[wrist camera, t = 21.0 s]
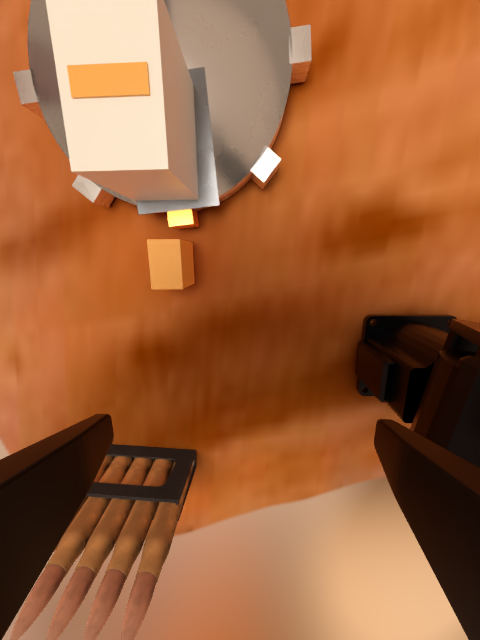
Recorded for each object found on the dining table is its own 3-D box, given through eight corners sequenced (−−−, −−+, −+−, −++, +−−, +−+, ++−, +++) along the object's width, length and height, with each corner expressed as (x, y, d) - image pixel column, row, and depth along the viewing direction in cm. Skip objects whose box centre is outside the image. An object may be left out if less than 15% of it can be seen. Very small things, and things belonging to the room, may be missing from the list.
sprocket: (298, -126, 14) (318, -290, 10) (309, 214, 18) (326, 202, 14) (-1, -67, 15) (-97, -190, 11) (73, 240, 19) (23, 236, 15)
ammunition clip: (82, 459, 24) (-74, 647, 13) (80, 442, 24) (-84, 620, 12) (196, 467, 24) (143, 667, 12) (196, 449, 23) (141, 641, 12)
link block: (193, 84, 15) (154, -29, 9) (198, 199, 16) (167, 168, 10) (124, 87, 15) (40, -22, 9) (135, 200, 16) (69, 170, 10)
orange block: (192, 241, 19) (179, 239, 16) (194, 283, 20) (182, 289, 16) (165, 242, 19) (146, 239, 16) (168, 283, 20) (151, 289, 16)
